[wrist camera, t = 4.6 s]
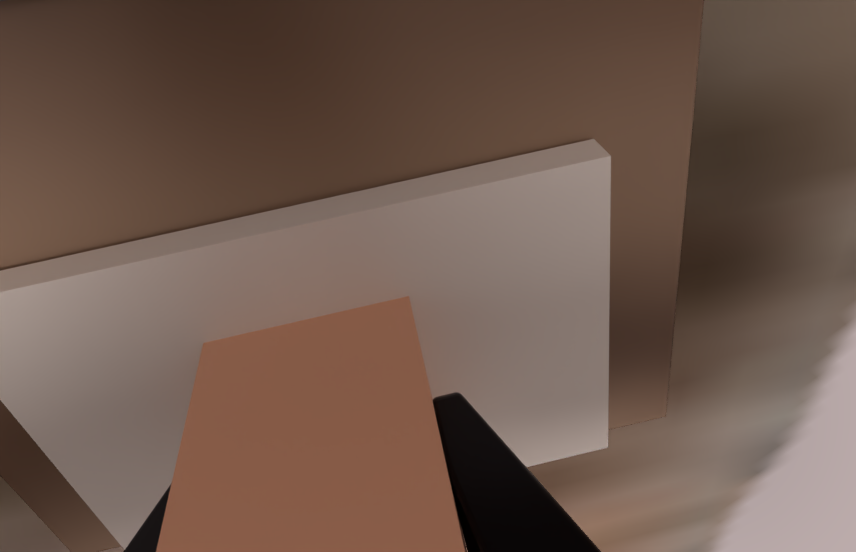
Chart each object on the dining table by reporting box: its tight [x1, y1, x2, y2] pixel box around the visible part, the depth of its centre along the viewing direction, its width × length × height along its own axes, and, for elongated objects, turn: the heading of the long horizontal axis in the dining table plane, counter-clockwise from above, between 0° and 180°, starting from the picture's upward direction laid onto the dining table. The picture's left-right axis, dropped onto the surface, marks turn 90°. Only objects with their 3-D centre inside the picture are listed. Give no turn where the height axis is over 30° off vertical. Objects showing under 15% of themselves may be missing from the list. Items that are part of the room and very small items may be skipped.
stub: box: [0, 139, 611, 552], centre depth 8 cm, size 6×9×6 cm, turn 99°
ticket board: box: [0, 0, 704, 552], centre depth 7 cm, size 18×12×2 cm, turn 9°
